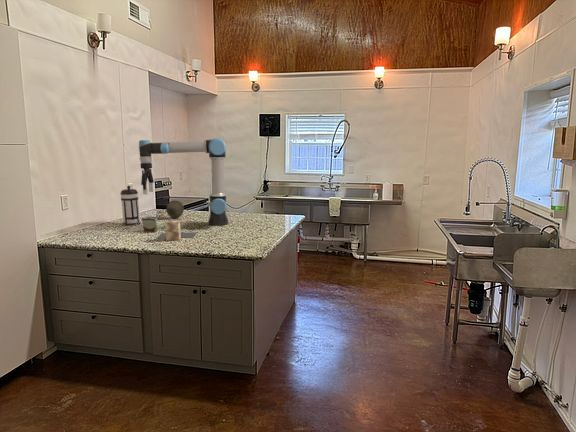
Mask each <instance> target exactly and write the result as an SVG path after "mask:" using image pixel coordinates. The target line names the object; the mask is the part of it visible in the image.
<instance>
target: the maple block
mask: <svg viewBox="0 0 576 432" xmlns="http://www.w3.org/2000/svg"><path fill="white" fill-rule="evenodd" d="M164 224H165V233H166V238H165V239H166V242H172V241H173V242H174V241H175V242H176V241H177V242H179V241H180V240H181V239H182V238H181V233H182V232H181V231H182V230H181V221H180V220H167V221H166V222H164Z"/></svg>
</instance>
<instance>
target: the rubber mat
mask: <svg viewBox="0 0 576 432" xmlns="http://www.w3.org/2000/svg"><path fill="white" fill-rule="evenodd" d="M197 234H198V232H197V231H192V232H191V231H190V232H181V239H189V238H190V239H191V238H195V237H196V235H197ZM159 239H161V240H162V239H166V232H162V233H160V234H159V235H158V236H157V237H156V240H159Z"/></svg>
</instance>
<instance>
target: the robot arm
mask: <svg viewBox="0 0 576 432" xmlns="http://www.w3.org/2000/svg"><path fill="white" fill-rule="evenodd" d="M226 149H227V145H226V143H225V141H224V140H223V139H222V138H220V137H214V138H211V139H205V140H204V141H179V142H151V140H149V139H145V140H144V139H141V140H139V141H138V151H139V157H138V158H139V162H140V169H142V170H141V181H140V182H141V183H140V185H141V186H142V193H143V195H148V194H149V193H153V192H154V184H153V183H155V180H154V177H153V173H152V172H153V171H152V169H153V163H152V162H153V160H152V155H153V154H154V155H157V154H158V155H159V154H160V155H161V154H163V155H164V154H167V155H168V154H177V153H178V154H179V153H205V154H208V158H209V159H210V160H211V164H210V165H211V169H210V170H211V194H210V195H209V198H208V199H209V209H210V210H209V212H210V213H209V214H210V215H209V219H208V225H209V226H226V225H228V224H229V219H228V216H227V214H226V210H227V206H228V205H227V195H226V193H225V187H224V186H225V177H224V175H225V173H224V170H225V169H224V160H225V159H226V158H227V157H226ZM147 183H148V184H147ZM148 192H149V193H148Z"/></svg>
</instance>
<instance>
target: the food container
mask: <svg viewBox="0 0 576 432" xmlns="http://www.w3.org/2000/svg"><path fill="white" fill-rule="evenodd" d="M140 220H141V221H142V228H143V232H144V233H153V234H154V233H157V224H158V217H156V216H144V217H141V219H140Z"/></svg>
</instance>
